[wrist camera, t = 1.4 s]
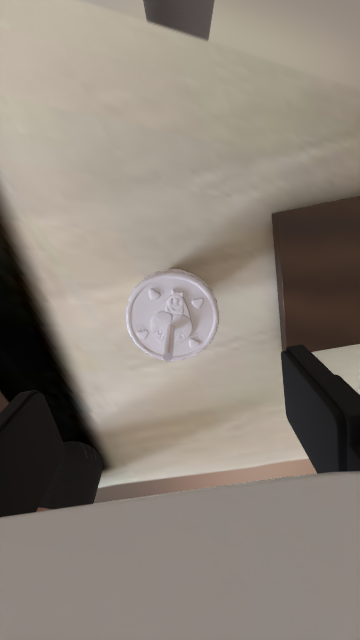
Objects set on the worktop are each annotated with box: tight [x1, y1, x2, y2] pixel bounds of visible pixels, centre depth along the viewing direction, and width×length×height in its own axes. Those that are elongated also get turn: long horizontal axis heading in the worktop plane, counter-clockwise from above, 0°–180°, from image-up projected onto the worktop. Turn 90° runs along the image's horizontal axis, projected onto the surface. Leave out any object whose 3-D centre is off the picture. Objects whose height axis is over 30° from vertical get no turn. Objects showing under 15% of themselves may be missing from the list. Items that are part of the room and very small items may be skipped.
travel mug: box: [36, 441, 103, 512], centre depth 26 cm, size 8×8×20 cm
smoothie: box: [126, 268, 219, 362], centre depth 21 cm, size 6×6×14 cm
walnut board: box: [272, 196, 360, 352], centre depth 26 cm, size 14×12×2 cm
